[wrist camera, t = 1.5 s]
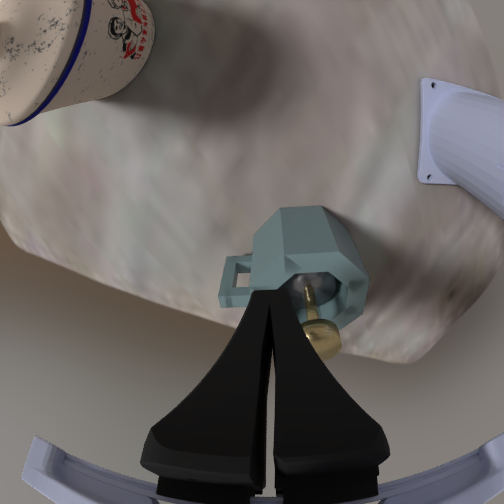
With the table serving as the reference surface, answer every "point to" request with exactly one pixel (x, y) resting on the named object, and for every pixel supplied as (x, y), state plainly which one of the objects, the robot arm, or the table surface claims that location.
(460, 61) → the table surface
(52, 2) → the teacup with lid
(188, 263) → the table surface
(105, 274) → the table surface
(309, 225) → the tea press body
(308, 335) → the plunger
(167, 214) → the table surface
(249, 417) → the robot arm
